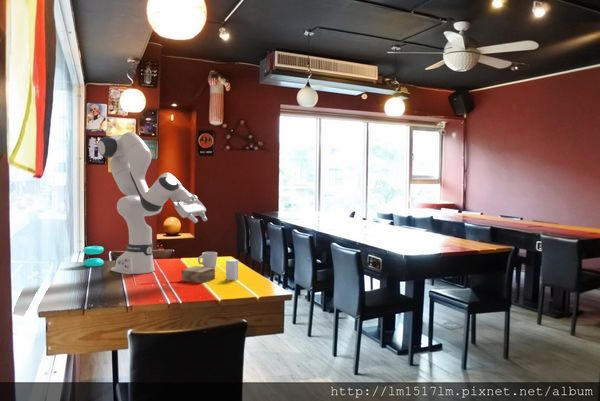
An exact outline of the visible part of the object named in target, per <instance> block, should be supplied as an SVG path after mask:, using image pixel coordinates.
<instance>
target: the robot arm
mask: <svg viewBox="0 0 600 401" xmlns="http://www.w3.org/2000/svg"><path fill="white" fill-rule="evenodd" d="M97 151H98V153H99V154H100V155H101V157H102V158H108V159H109V158H110V160H109V165H108V166H109V169H110V172H111V175H112V177H113V179H114V181H115V183H116V185H117V188H118V189H119V191H120V192H121V193H122V194H123V195H125V196H123V197H120V198H119V199H118V201H117V203H116V210H117V212H118V214H119V215H120V216H121V217H122V218H123V219H124V220H125V223H126V225H127V229H128V244H125V245H124V247H125V248H126V250H125V252H123V253H122V254H121V255H120V256H118V257H117V258H116V261H115V266H113V267H111V268H110V271H112V272H115V273H120V274H125V275H136V274H138V275H139V274H147V273H152V272H155V271H156V269H155V268H156V267H155V263H154V256H153V251H154V248H153V247H154V245H153V244H154V243H153V228H152V227H151V226H150V225H149V224H147V222H146V220H145V217H151V216H154V215H157V214H160V213H161V212H162V210H163V207H164V204H165V203H166V202H167V201H168V200H169V199H170V200H171V201H172V203H173V205H174V209H175V210H176V211H177V213H178V214H179V216H180V217H181V218H183V219H184V218H187V219H189V220H190V221H192V222H193V223H194V224H196V223H198V222H199V220H198V218H196V216H198V217H199V216H200V217H201V220H202V221H203V222H206V221H208V218H207V216H206V212H207V208H206V207H205V205H204V204H203V203H202V202H201V201H200V200H199V199H198V198H199V197H198V196H197V195H195V194H194V193H191V192H189V191H188V189H186V188H185V187H184V186H183V184H182V183H181V182H180V180H178V178H176V176H174V175H173V174H172V173H170V172H164V173H162V174H161V175H160V176H158V178H157V179H156V180H155V182H154V183H153V184H152V185H151V186H150V188H149V186H148V184H147V181H146V173H147V171H148V169H149V166H150V165H151V162H152V156H153V155H152V151H151V149H150V148H149V146H148V145H147V144H146V142H145V141H144V140H143V139H142V138H141V136H139V135H138V134H137V133H136V132H134V131H128V132H124V134H117V135H112V136H111V135H110V136H104V137H101V138H100V139H99V140H98V142H97Z"/></svg>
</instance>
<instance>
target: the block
mask: <svg viewBox="0 0 600 401" xmlns="http://www.w3.org/2000/svg"><path fill="white" fill-rule="evenodd" d="M226 279H227V280H228V281H236V280H237V279H239V259H231V258H230V259H228V260H226V261H225V280H226Z"/></svg>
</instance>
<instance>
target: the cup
mask: <svg viewBox="0 0 600 401" xmlns="http://www.w3.org/2000/svg"><path fill="white" fill-rule="evenodd" d="M201 259H202V261H201ZM217 260H218V252H216V251H204V252H202V253H201V255H200V256H199V257H198V258H197V261H198V262H197V263H198V264H199V265H203V266H202V267H209V268H216V266H217Z"/></svg>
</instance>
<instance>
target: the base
mask: <svg viewBox="0 0 600 401" xmlns="http://www.w3.org/2000/svg"><path fill="white" fill-rule="evenodd" d="M215 279H216V267H214V268H209V267H204V266H199V265H194V266H192V267H191V266H190V267H188V268H184V269H181V281H183V282H189V283H198V284H203V283H206V282H209V281H211V280H215Z"/></svg>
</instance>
